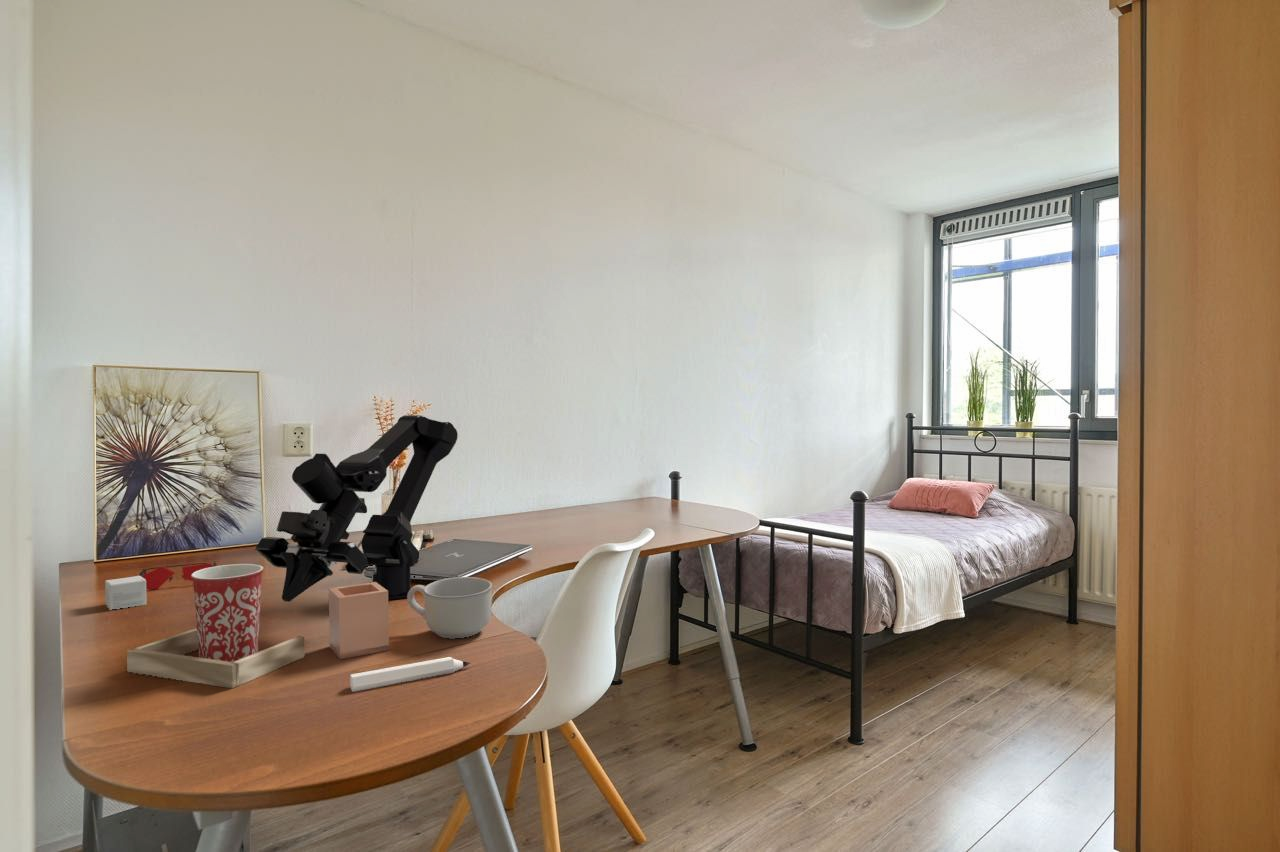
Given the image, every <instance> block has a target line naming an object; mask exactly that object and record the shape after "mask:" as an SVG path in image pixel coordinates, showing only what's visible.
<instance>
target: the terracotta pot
mask: <svg viewBox="0 0 1280 852" xmlns="http://www.w3.org/2000/svg"><path fill="white" fill-rule="evenodd" d="M389 613H390V612H389V599H388V591H387V590H386V589H385V588H383V587H382V586H381V585H379V584H378V583H377V582H372V581H371V582H366V583H357V584H351V585H343V586H337V587H329V588H328V615H329V616H328V617H329V619H328V622H329V648H330V649H331V650H332V651H333V653H334V654H335V655H336V656H337V657H338V659H339V660H346V659H350V658H355V657H360V656H365V655H369V654H375V653H376V654H377V653H382V652H386V651H389V650H390V631H389V630H390V626H389V624H390V623H389V618H390V615H389Z"/></svg>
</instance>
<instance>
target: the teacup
mask: <svg viewBox="0 0 1280 852" xmlns="http://www.w3.org/2000/svg"><path fill="white" fill-rule="evenodd" d="M410 588H411V589H410V590H409V592H408V594H407V599H406V600H407V603H408V605H409V607H410V608H411V610H413V611H414V612H416V613H417V614H419V615H420V616H422V617H423V619H424V620H425V621H426V622H425V623H426V625H427V627H428V628H429V629H430V630H431V632H433V633H435V634H436V635H437V636H438V637H440V638H443V639H447V638H449V639H448V640H456V639H455V638H462V639H465V638H464V637H467V638H470V637H469V636H471V637H473V636H475V634H476V635H477V634H478V633H480V632H481V631H482V629H484V628H485V627H486V626H487V625H488V624H489V622H490V619H491V616H492V615H491V614H492V588H493V583H492V582H491V581H489V580H488V579H484V578H482V577H473V576H458V577H456V576H455V577H448V578H447V577H446V578H443V579H438V580H436V581H433V582H431V583H429V584H427V585H422V584H415V585H413V586H412V587H410ZM417 592H419V593H421V595H422V596H423V598H424V607H422V606H421V605H420V604H419V603H417V601H416V599H415V595H416V594H415V593H417ZM472 635H473V636H472Z"/></svg>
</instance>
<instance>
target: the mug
mask: <svg viewBox="0 0 1280 852" xmlns="http://www.w3.org/2000/svg"><path fill="white" fill-rule="evenodd" d="M264 570H265V568H264V566H262V565H259V564H252V563H237V564H236V563H235V564H234V563H232V564H224V565H217V566H215V567H209V568H205V569H201V570H198V571H196V572H194V573H192V575H191V578H192V580H193V581H192V585H193V598H194V606H195V607H194V608H195V619H196V620H195V621H196V628H197V635H198V647H199V649H198V658H205V659H213V660H220V661H227V662H235V661H237V660H240V659H242V658H245V657H247V656H250V655H252V654H255V653H257V652H259V636H260V635H259V634H260V633H259V632H260V618H261V616H260V615H261V599H262V579H263V572H264Z"/></svg>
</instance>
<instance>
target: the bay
mask: <svg viewBox="0 0 1280 852" xmlns="http://www.w3.org/2000/svg"><path fill="white" fill-rule="evenodd" d="M197 649H198V650H199V647H198V635H197V627H195V628H193V629H189V630H187V631H184V632H181V633H177V634H174V635H171V636H169V637H165V638H162V639H159V640H156V641H154V642H150V643H148V644H147V643H146V644H144V645H141V646H137V647H135V648H131V649H128V650H126V665H127V666H126V669H127V670H126V671H128V672H127V673H129V672H133V673H132V674H136V673H138V674H137V675H142V674H146V675H145V676H149V675H152V676H151V677H155V676H157V677H156V678H162V677H163V678H164V679H168V678H170V680H175V679H176V680H177V681H181V680H182V682H190V683H195V684H201V683H202V685H210V686H216V687H222V688H229V689H234V688H237V687H239V686H241V685H244V684H246V683H248V682H250V681H253V680H255V679H258V678H260V677H261V676H264V675H267V674H269V673H271V672H274V671H275V670H277V669H280V668H282V667H284V666H287V665H289V664H291V663H294V662H296V661H298V660H300V659H303V658H305V655H306V653H305V636H300V635H298V636H295V637H293V638H290V639H288V640H285V641H283V642H280V643H278V644H275V645H273V646H270V647H268V648H266V649H262V650H260V651H258V652H257V653H255V654H252V655H250V656H247V657H245V658H242V659H240V660H237V661H235V662H227V661H220V660H213V659H205V658H199V656H198V657H197V656H192V655H186V653H187V654H190V653H192V651H193V652H195V651H198V650H197ZM189 652H190V653H189ZM183 654H184V655H183ZM176 680H175V681H176Z"/></svg>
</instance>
